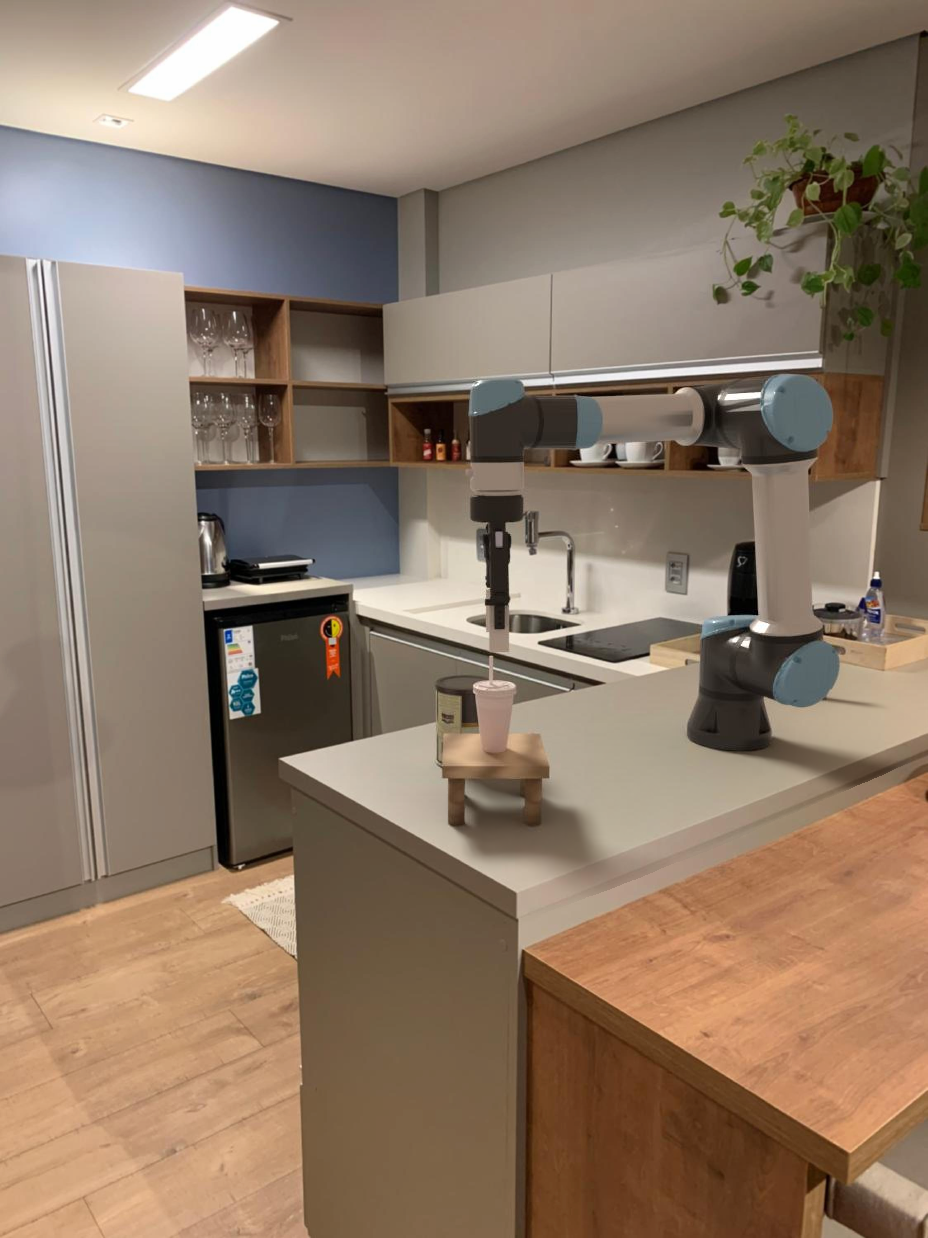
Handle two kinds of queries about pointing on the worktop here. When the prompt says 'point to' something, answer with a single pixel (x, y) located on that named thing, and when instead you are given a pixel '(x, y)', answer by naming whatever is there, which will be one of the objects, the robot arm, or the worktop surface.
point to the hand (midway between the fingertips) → (496, 641)
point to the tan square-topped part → (494, 770)
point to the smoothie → (494, 711)
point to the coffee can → (455, 708)
